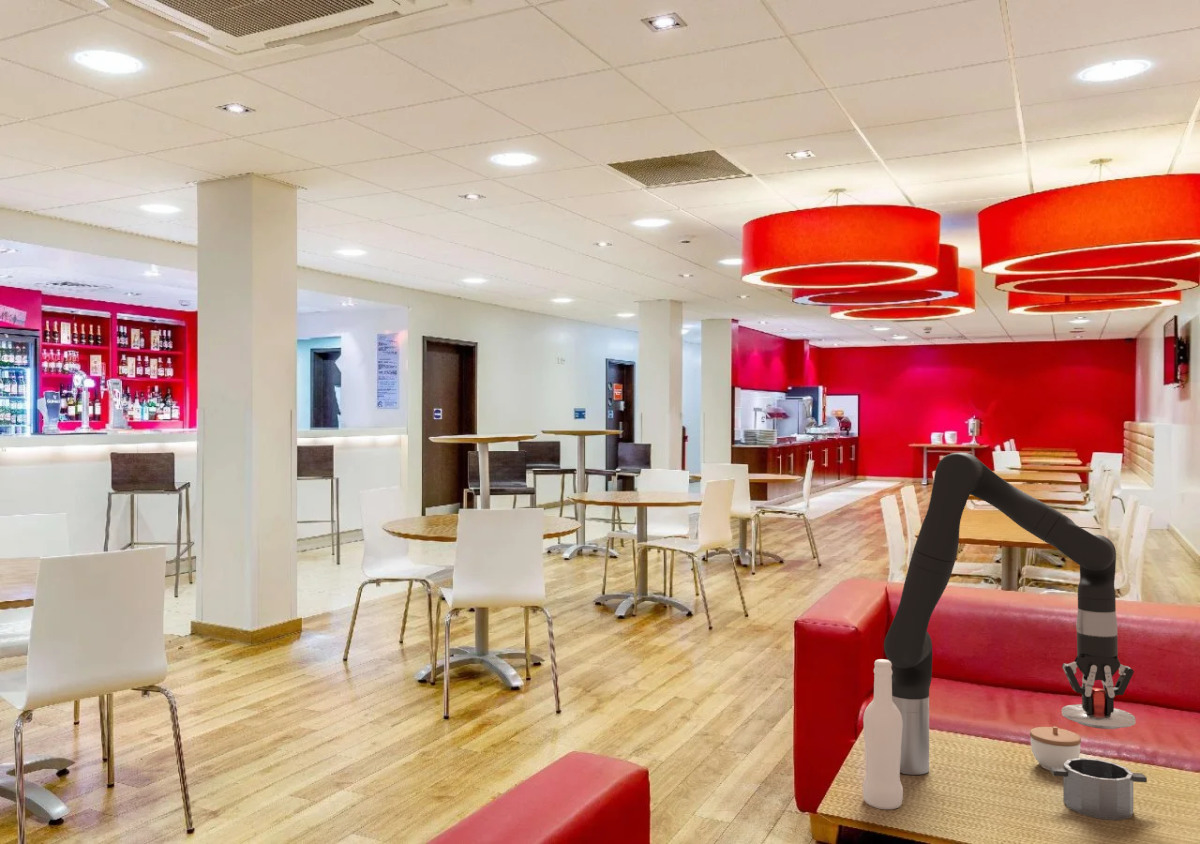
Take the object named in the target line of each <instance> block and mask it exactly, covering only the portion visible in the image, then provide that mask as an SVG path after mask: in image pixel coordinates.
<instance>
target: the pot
mask: <svg viewBox="0 0 1200 844" xmlns="http://www.w3.org/2000/svg"><path fill="white" fill-rule="evenodd" d="M1049 771H1050V773H1051V775H1052V776H1055V777H1063V778H1062V779H1063V783H1062V784H1063V787H1062V788H1063V798H1062V799H1063V803H1064V804H1065V806H1066V807H1067V809H1070V810H1072V811H1074V812H1076V813H1078V814H1080V815H1083V816H1087V817H1091V818H1094V819H1097V820H1110V821H1111V820H1112V821H1119V820H1120V821H1121V820H1127V819H1130V818H1131V817H1132V815H1133V814H1134V782H1136V783H1148V782H1147V781H1148V777H1146V775H1145V774H1143V773H1142V772H1141V773H1140V772H1139V773H1138V772H1132V771H1131V770H1130V769H1129V768H1128V767H1125V766H1122V765H1120V764H1117V763H1115V762H1112V761H1106V760H1104V759H1103V760H1102V759H1098V758H1088V757H1087V758H1084V757H1079V758H1076V759H1069V760H1067V761H1066V762H1065V763H1064V764H1063V768H1059V767H1050V770H1049Z"/></svg>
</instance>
